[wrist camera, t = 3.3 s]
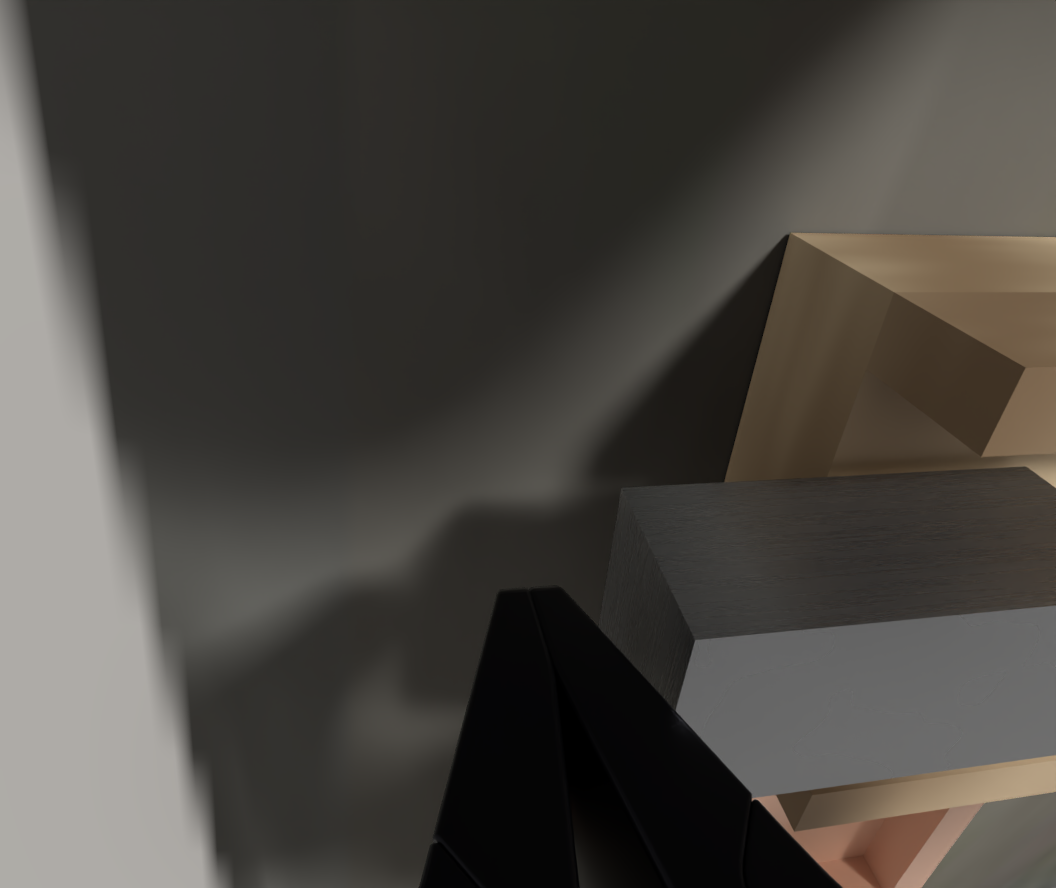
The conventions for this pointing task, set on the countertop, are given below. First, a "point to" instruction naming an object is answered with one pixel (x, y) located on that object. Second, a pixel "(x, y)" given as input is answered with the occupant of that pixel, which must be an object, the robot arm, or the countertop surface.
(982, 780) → the socket block
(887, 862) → the rack tray
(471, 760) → the robot arm
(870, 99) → the countertop surface
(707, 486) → the grey rectangular metal block
